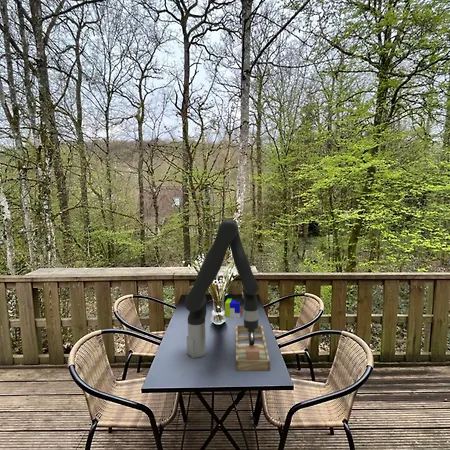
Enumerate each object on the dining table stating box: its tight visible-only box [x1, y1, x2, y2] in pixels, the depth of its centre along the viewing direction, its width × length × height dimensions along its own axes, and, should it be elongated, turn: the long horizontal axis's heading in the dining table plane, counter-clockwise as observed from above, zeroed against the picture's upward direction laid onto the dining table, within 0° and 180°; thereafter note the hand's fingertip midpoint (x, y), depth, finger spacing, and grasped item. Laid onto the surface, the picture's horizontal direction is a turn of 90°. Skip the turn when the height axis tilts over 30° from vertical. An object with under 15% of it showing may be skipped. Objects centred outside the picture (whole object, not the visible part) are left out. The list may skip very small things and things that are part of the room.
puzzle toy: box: [224, 298, 243, 319], centre depth 207 cm, size 10×10×10 cm
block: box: [246, 345, 260, 360], centre depth 146 cm, size 6×6×5 cm
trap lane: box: [235, 324, 271, 371], centre depth 159 cm, size 40×16×4 cm, turn 178°
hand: (251, 350), depth 152 cm, fingers closed
